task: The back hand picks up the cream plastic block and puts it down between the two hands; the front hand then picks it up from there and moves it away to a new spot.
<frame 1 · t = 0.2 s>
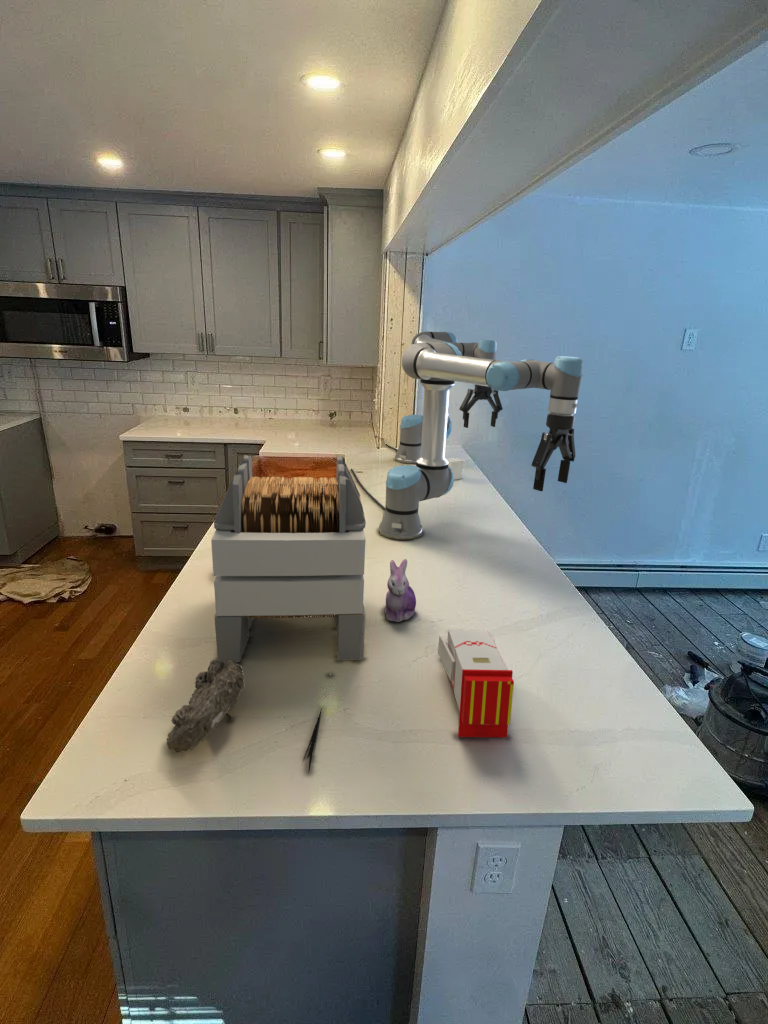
front hand: (550, 486, 166), 28 cm above the counter, tool pointing down, fingers open, 13 cm apart
back hand: (479, 426, 249), 27 cm above the counter, tool pointing down, fingers open, 13 cm apart
record storage crate: (294, 623, 141), on the counter
block: (451, 478, 270), on the counter
feather: (319, 719, 109), on the counter
toy: (469, 691, 119), on the counter
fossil: (212, 717, 108), on the counter
figurine: (399, 614, 147), on the counter
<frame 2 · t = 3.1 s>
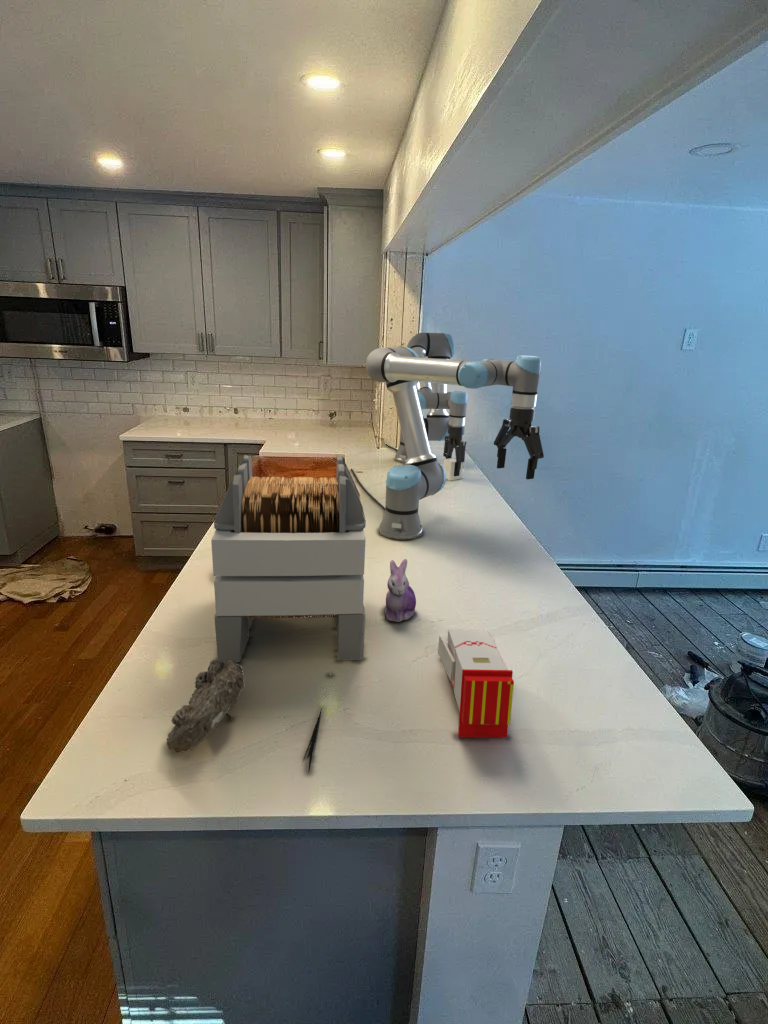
front hand: (514, 473, 183), 26 cm above the counter, tool pointing down, fingers open, 13 cm apart
back hand: (452, 474, 269), 2 cm above the counter, tool pointing down, fingers closed on block, 6 cm apart
block: (451, 478, 270), on the counter, touching back hand
everything else where it was.
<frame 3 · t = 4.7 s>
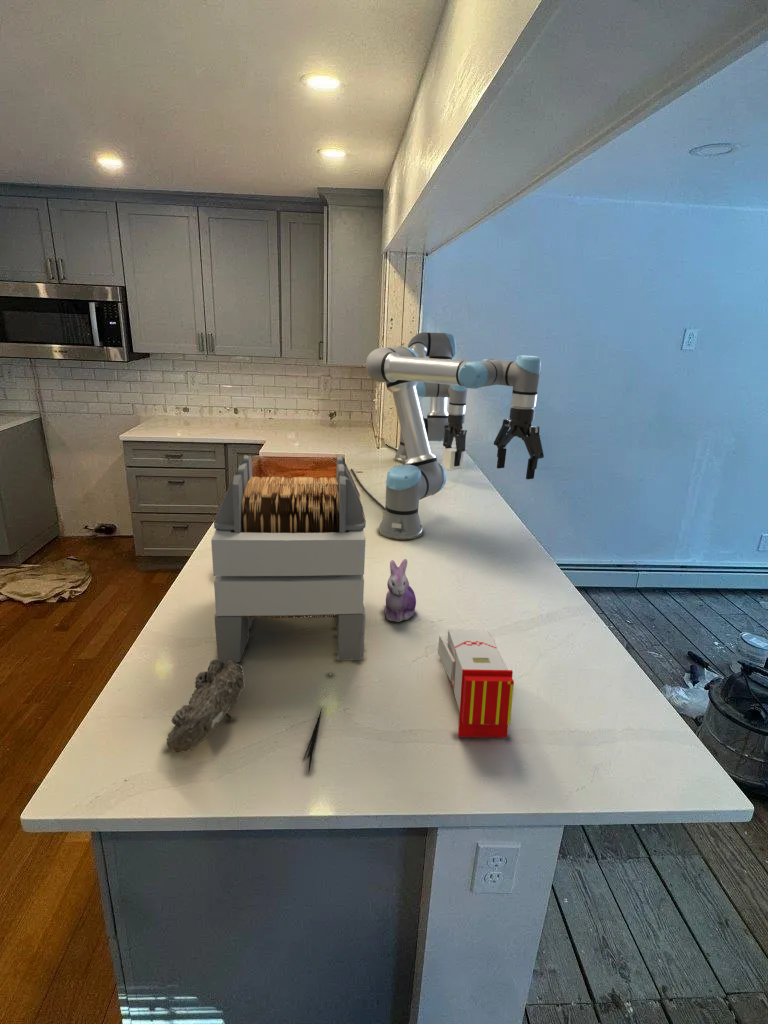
front hand: (514, 473, 183), 26 cm above the counter, tool pointing down, fingers open, 13 cm apart
back hand: (452, 464, 261), 8 cm above the counter, tool pointing down, fingers closed on block, 6 cm apart
block: (452, 468, 262), point 6 cm above the counter, touching back hand
everything else where it was.
when the back hand's fingers open (3 cm above the counter, at t = 6.6 s): block drops 1 cm, on the counter.
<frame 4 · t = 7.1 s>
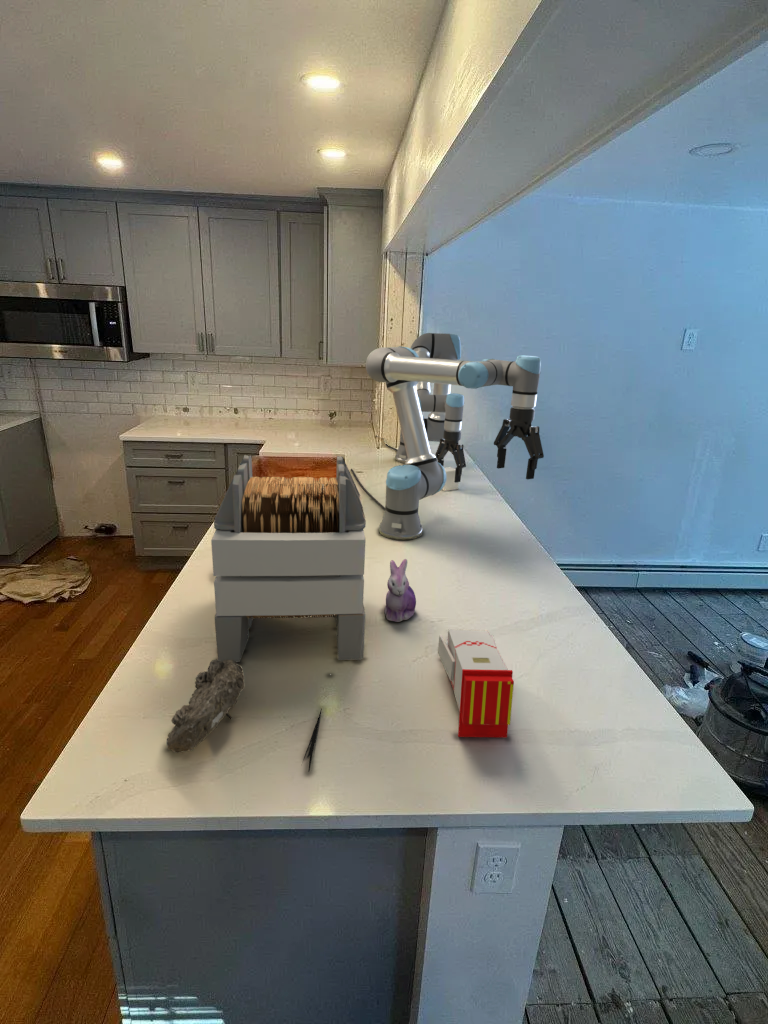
front hand: (514, 473, 183), 26 cm above the counter, tool pointing down, fingers open, 13 cm apart
back hand: (448, 478, 252), 5 cm above the counter, tool pointing down, fingers open, 12 cm apart
block: (447, 488, 254), on the counter
everything else where it was.
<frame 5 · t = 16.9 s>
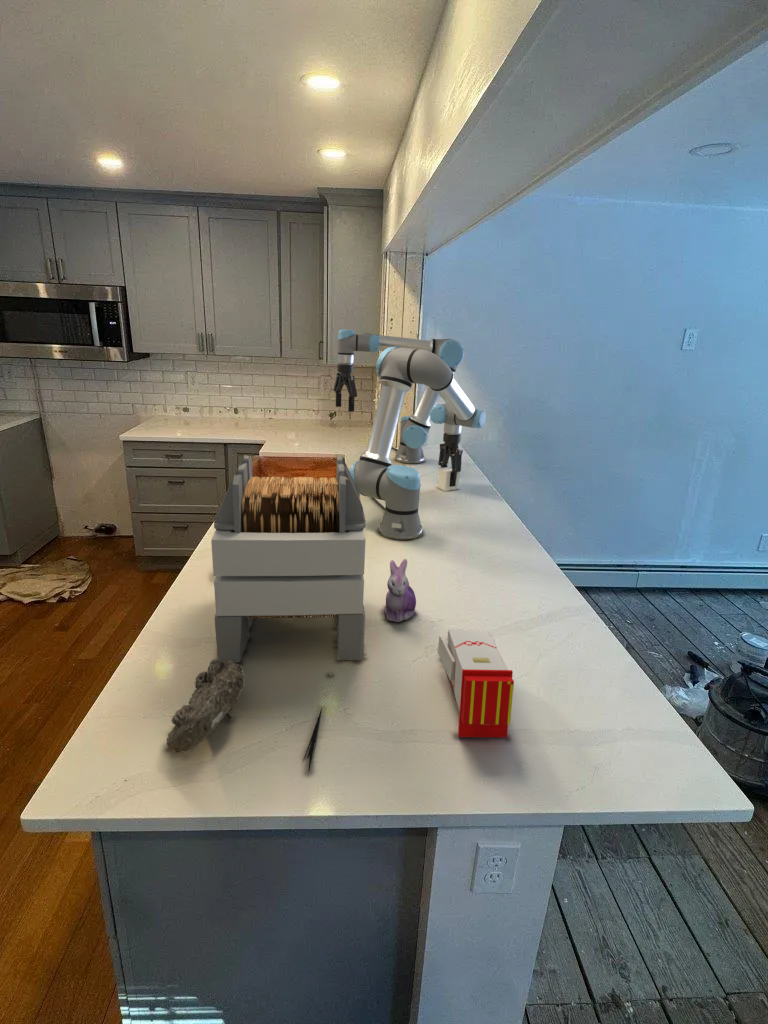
front hand: (447, 484, 253), 2 cm above the counter, tool pointing down, fingers closed on block, 6 cm apart
back hand: (344, 409, 274), 28 cm above the counter, tool pointing down, fingers open, 13 cm apart
block: (447, 488, 254), on the counter, touching front hand
everything else where it was.
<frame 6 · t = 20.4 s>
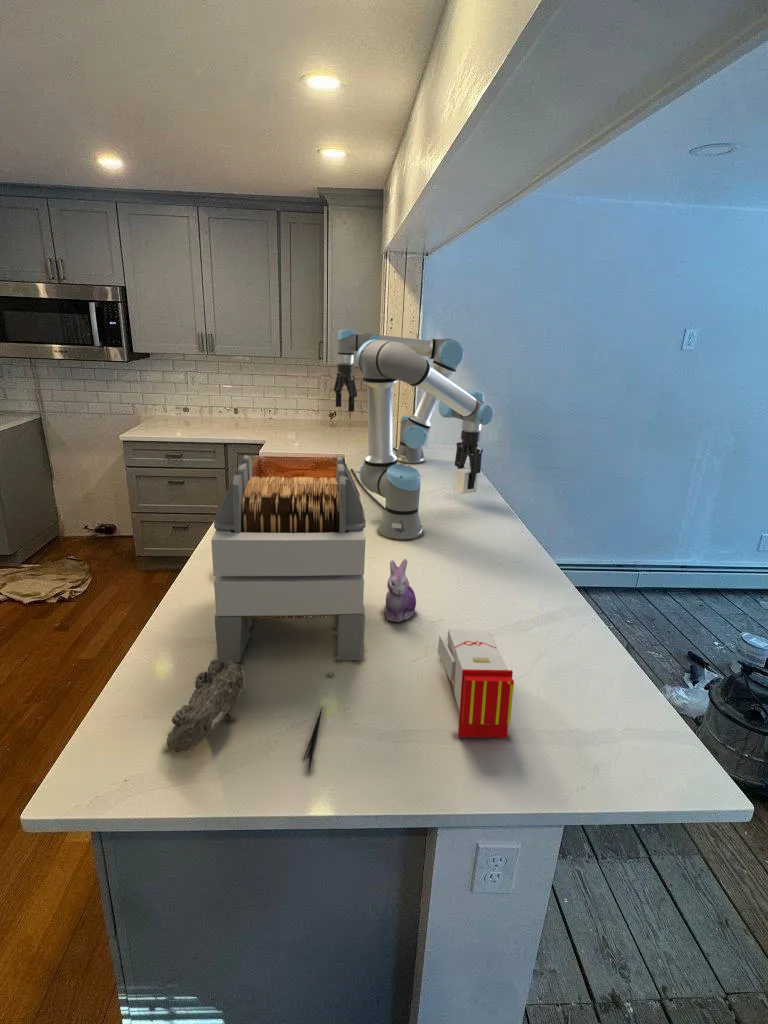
front hand: (465, 486, 232), 8 cm above the counter, tool pointing down, fingers closed on block, 6 cm apart
back hand: (344, 409, 274), 28 cm above the counter, tool pointing down, fingers open, 13 cm apart
block: (464, 491, 232), point 6 cm above the counter, touching front hand
everything else where it was.
when the front hand's fingers open (3 cm above the counter, at t = 24.3 s): block drops 1 cm, on the counter.
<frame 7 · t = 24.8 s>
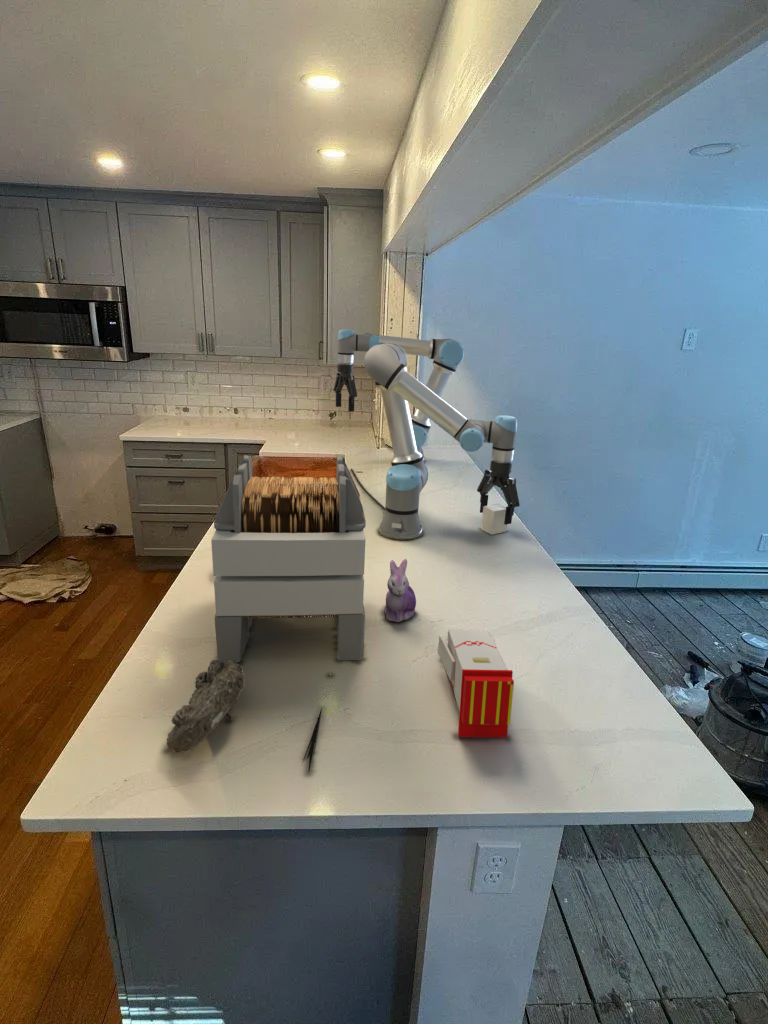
front hand: (495, 517, 205), 5 cm above the counter, tool pointing down, fingers open, 13 cm apart
back hand: (344, 409, 274), 28 cm above the counter, tool pointing down, fingers open, 13 cm apart
block: (493, 530, 207), on the counter
everything else where it was.
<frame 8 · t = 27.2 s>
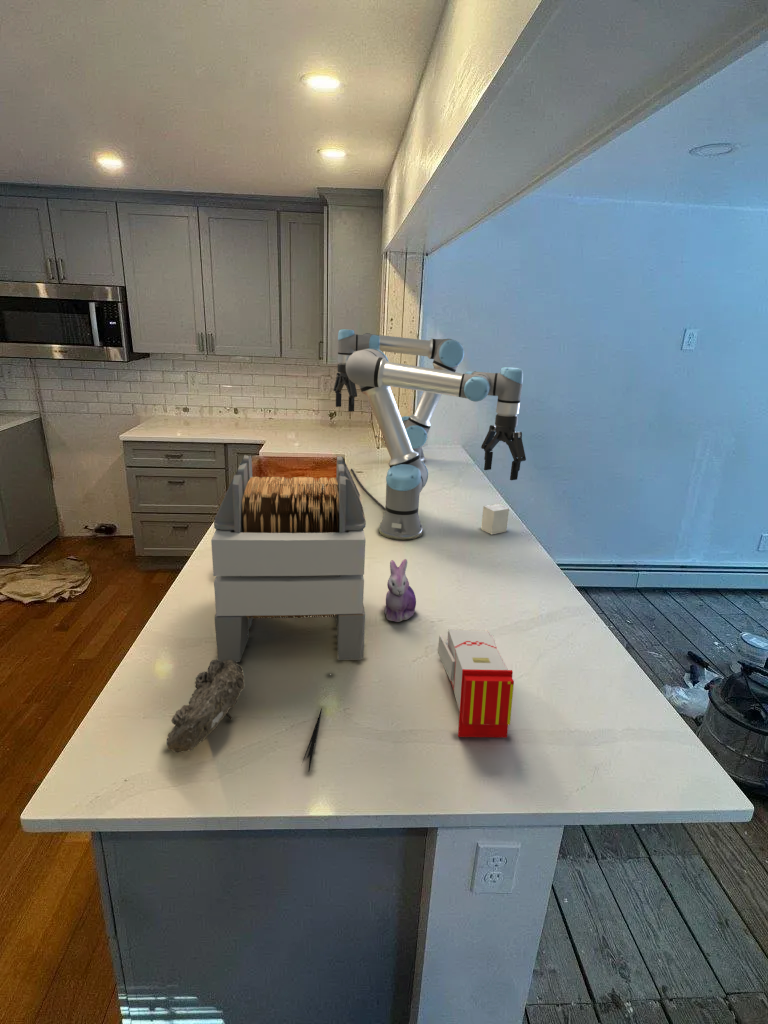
front hand: (500, 474, 200), 21 cm above the counter, tool pointing down, fingers open, 13 cm apart
back hand: (344, 409, 274), 28 cm above the counter, tool pointing down, fingers open, 13 cm apart
nothing on the counter moved.
at the end: block inside the target area (0.1 cm from its centre), on the counter; block tilted 0°; the two hands never held the block at the same time; the front hand is holding nothing; the back hand is holding nothing; block at rest at the end (0.0 cm/s) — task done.
